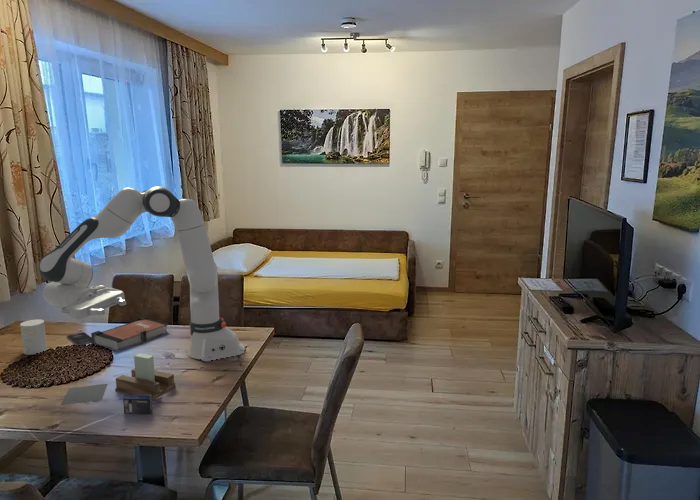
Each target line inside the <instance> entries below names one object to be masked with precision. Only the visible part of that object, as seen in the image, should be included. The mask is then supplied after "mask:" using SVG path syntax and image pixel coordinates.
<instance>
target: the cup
mask: <svg viewBox="0 0 700 500" xmlns="http://www.w3.org/2000/svg"><path fill="white" fill-rule="evenodd" d="M45 327H46V326H45V320H44V319H37V318H36V319H31V320H25V321H23V322H21V323H20V334H21V343H22V352H23V354H24V355H26V356H27V355H28V356H29V355H37V354H36V353H38V354H41V353H43V351H44V352H46V351H47V350H48V348H47V347H48V346H47V336H46V329H45ZM40 352H41V353H40Z"/></svg>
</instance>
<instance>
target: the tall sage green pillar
mask: <svg viewBox="0 0 700 500" xmlns="http://www.w3.org/2000/svg"><path fill="white" fill-rule="evenodd" d="M133 359H134V361H133V362H134V368H135V376H136V378H140V379H144V380H149V381H154V382H155V374H154V370H155V362H154V361H155V360H154V355H150V354H145V353H137V354H135V355H133Z"/></svg>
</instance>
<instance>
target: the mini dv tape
mask: <svg viewBox="0 0 700 500" xmlns="http://www.w3.org/2000/svg"><path fill="white" fill-rule="evenodd" d="M122 398H123V400H122V401H123V412H124V415H125V414H126V415H128V414H129V415H151V414H152V413H153V400H152V396H151V394H127V393H124V395H122Z"/></svg>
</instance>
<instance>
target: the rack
mask: <svg viewBox="0 0 700 500" xmlns="http://www.w3.org/2000/svg"><path fill="white" fill-rule="evenodd" d="M130 371H131V376H130V375H125V374H122V375H120V376H117V377H115V388H114V390H115V392H119V393H122V394H123V393H124V394H151V396H152V401H154V400H156V399H157V398H159V397H160V396H161V395H162V394H164V393H166V392H167V391H168V390H172V389H174V388H175V387H176V382H175V374H174V373H169V372H164V371H160V370H155V369H154V374H155V382H154V381H149V380H144V379H140V378H136V376H135V367H134V368H133V369H131V370H130Z"/></svg>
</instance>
